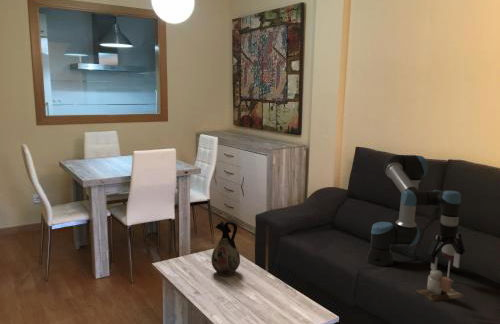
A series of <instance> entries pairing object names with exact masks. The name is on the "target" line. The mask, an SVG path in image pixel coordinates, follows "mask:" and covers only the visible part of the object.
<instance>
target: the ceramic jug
mask: <svg viewBox="0 0 500 324" xmlns="http://www.w3.org/2000/svg"><path fill="white" fill-rule="evenodd" d="M230 225H231V226H232V228H233V230H231V228H230V227H229V226H230ZM214 229H217V230H219V231H220V232H222V236H221V238H220V239H219V240H218V241H217V243H216V245H214V248H213V251H212V254H211V261H210V262H211V266H212V268H213V269H214V270H215V271H216V274H217V275H218V276H219V277H226V278H227V277H231V276H234V275H235V274H236V273H235V272H236V271H237V269H238V268H239V267H240V264H241V255H240V252H239V249H238V247H237V246H236V242H235V237H236V235H237V232H238V225H237V223H236V222H235V221H233V220H226V222H224V221H221V222H220V223H217V225H216V226H215V227H214ZM230 233H232V235H231V236H230Z"/></svg>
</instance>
